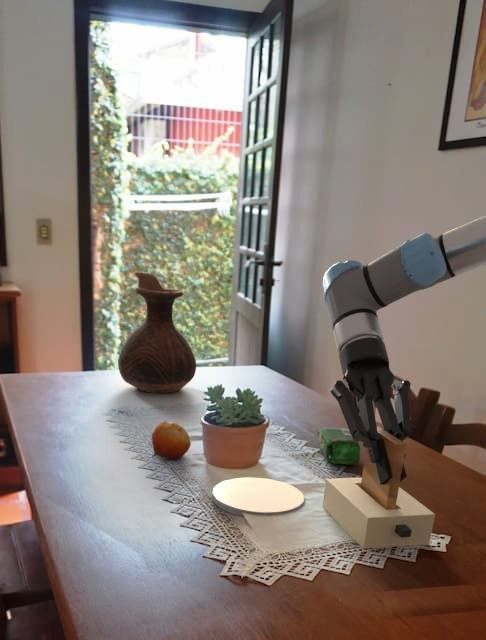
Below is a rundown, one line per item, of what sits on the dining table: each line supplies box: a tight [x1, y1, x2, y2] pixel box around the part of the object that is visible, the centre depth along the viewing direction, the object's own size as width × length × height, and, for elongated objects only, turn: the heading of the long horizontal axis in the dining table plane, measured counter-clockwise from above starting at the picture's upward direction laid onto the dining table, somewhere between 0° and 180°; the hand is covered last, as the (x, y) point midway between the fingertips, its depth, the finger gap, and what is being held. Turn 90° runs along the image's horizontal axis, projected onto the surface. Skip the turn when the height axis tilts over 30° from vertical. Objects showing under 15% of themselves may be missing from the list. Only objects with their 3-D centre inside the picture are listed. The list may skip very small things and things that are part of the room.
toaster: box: [322, 476, 436, 550], centre depth 108 cm, size 11×18×6 cm, turn 13°
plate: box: [211, 477, 305, 518], centre depth 119 cm, size 16×16×1 cm
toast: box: [361, 426, 407, 510], centre depth 107 cm, size 2×9×15 cm, turn 13°
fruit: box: [151, 421, 191, 461], centre depth 137 cm, size 8×8×8 cm
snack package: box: [317, 427, 361, 466], centre depth 143 cm, size 7×16×5 cm, turn 0°
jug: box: [117, 271, 197, 394], centre depth 186 cm, size 22×22×30 cm
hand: (393, 480), depth 103 cm, fingers closed on toast, 1 cm apart
